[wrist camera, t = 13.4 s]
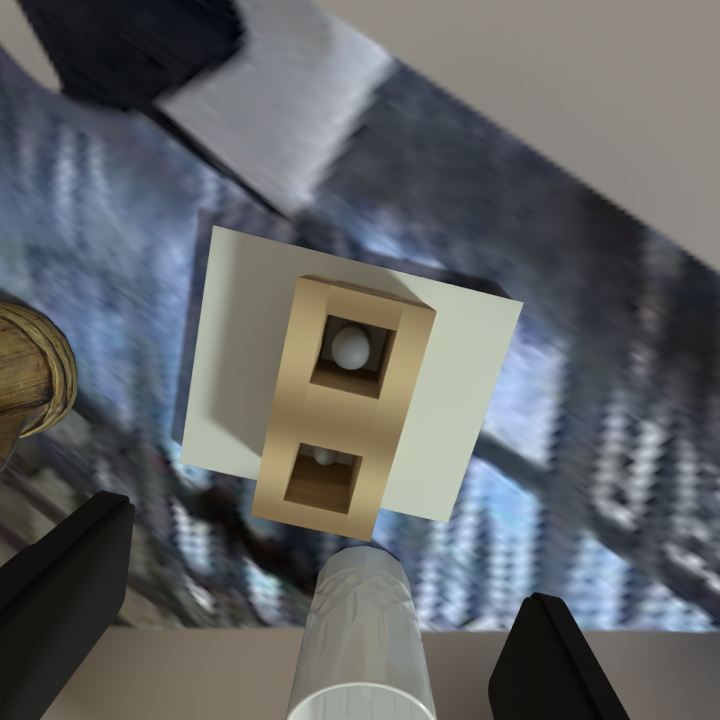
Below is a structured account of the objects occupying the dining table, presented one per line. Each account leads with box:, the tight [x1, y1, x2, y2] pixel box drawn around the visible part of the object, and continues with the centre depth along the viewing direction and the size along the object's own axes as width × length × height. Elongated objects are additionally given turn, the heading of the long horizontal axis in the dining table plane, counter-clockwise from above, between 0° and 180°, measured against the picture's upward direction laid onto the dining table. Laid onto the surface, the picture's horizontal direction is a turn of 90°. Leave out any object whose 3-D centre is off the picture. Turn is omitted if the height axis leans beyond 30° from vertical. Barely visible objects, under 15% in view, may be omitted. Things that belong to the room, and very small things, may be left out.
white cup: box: [285, 546, 437, 720], centre depth 24 cm, size 8×8×10 cm
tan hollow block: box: [250, 274, 437, 542], centre depth 21 cm, size 12×6×5 cm, turn 166°
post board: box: [180, 225, 523, 523], centre depth 22 cm, size 18×15×6 cm
